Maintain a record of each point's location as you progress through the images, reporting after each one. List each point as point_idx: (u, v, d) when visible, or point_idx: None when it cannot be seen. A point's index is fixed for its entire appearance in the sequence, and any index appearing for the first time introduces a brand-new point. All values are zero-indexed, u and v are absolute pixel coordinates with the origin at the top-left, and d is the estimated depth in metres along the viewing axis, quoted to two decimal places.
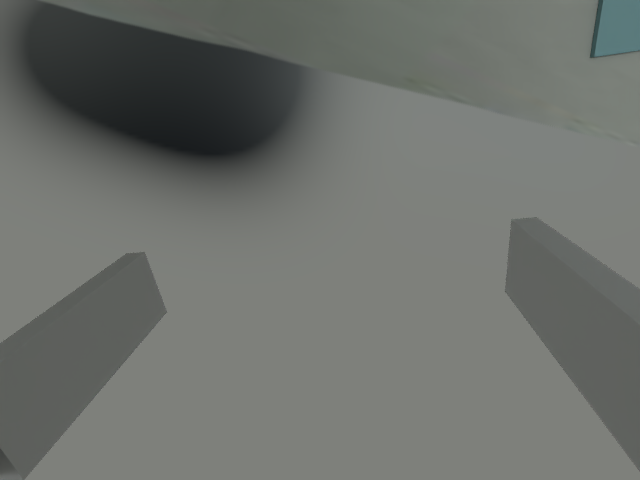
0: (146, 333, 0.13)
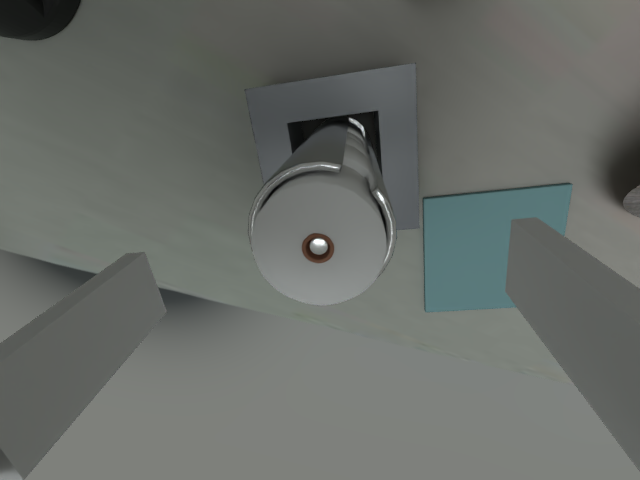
0: (146, 333, 0.13)
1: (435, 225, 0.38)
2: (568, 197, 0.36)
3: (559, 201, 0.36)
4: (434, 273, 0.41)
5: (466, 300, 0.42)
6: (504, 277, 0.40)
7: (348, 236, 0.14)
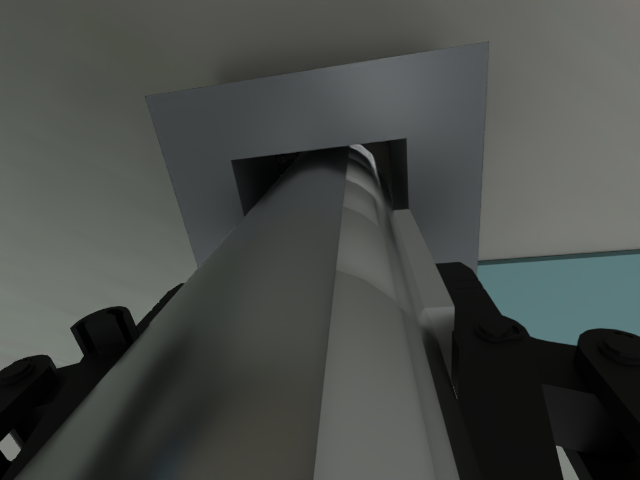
0: None
1: None
2: None
3: None
4: None
5: None
6: None
7: None
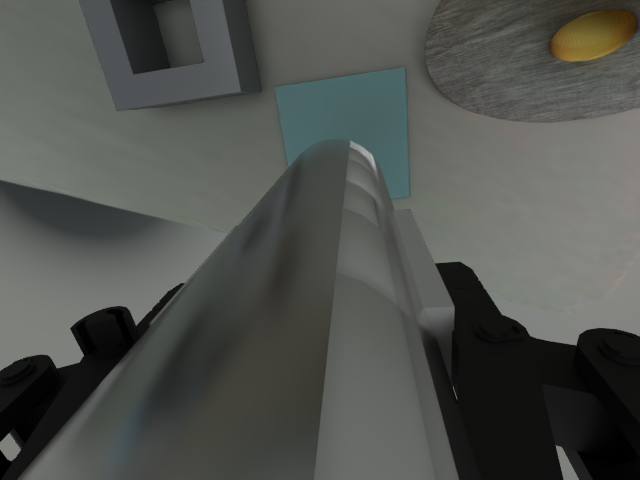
0: None
1: (288, 114, 0.41)
2: (404, 80, 0.38)
3: (396, 85, 0.38)
4: None
5: None
6: None
7: None
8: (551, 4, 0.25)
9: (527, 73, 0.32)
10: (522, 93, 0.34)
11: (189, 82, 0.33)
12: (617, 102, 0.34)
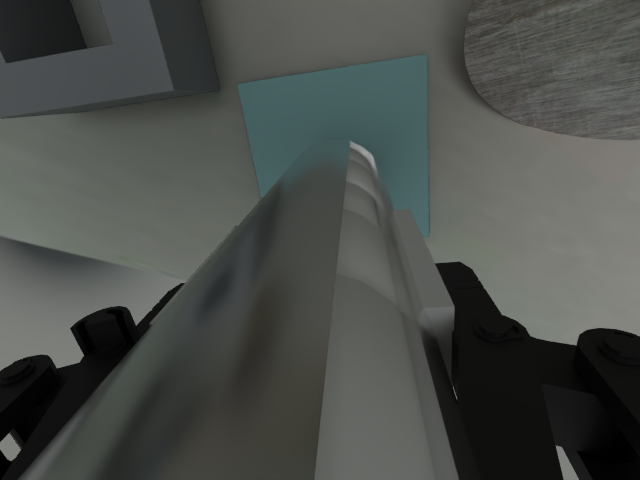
0: None
1: (259, 122, 0.29)
2: (424, 74, 0.26)
3: (413, 81, 0.26)
4: None
5: None
6: None
7: None
8: None
9: (626, 66, 0.20)
10: (607, 98, 0.23)
11: (93, 75, 0.21)
12: None
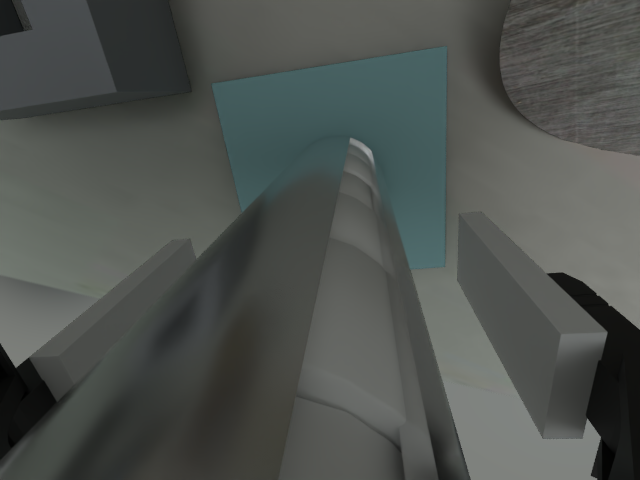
0: None
1: (238, 130, 0.23)
2: (443, 72, 0.21)
3: (429, 80, 0.21)
4: None
5: None
6: None
7: None
8: None
9: None
10: None
11: (10, 71, 0.16)
12: None
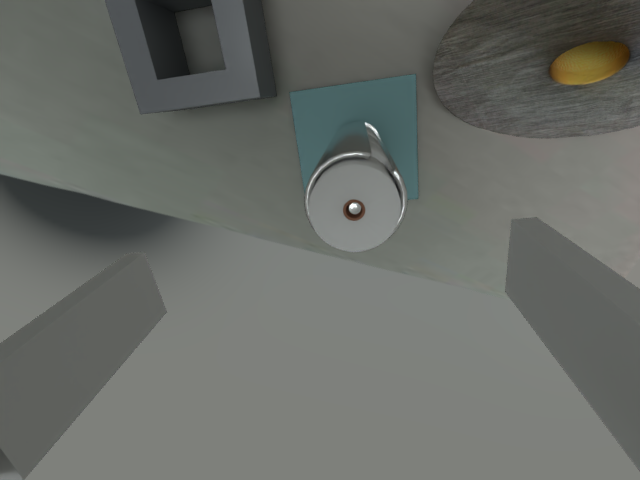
0: (146, 333, 0.13)
1: (302, 118, 0.42)
2: (414, 87, 0.40)
3: (407, 91, 0.40)
4: (309, 168, 0.45)
5: None
6: None
7: (374, 201, 0.20)
8: (552, 34, 0.27)
9: (527, 93, 0.34)
10: (523, 111, 0.37)
11: (211, 87, 0.35)
12: (612, 122, 0.36)
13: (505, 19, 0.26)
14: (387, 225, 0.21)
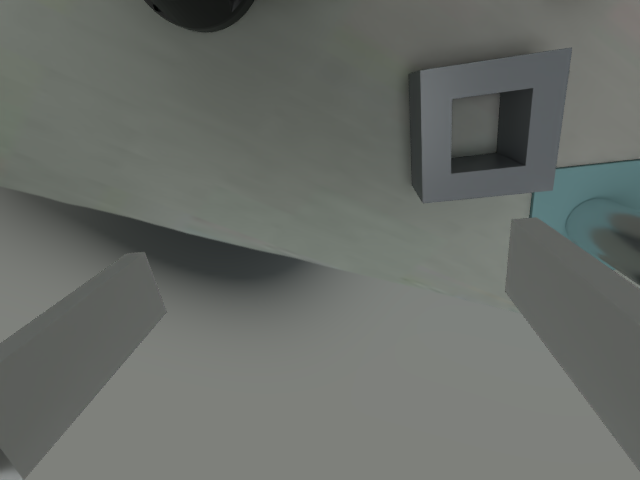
0: (146, 333, 0.13)
1: (544, 194, 0.44)
2: None
3: None
4: None
5: None
6: None
7: None
8: None
9: None
10: None
11: (504, 181, 0.36)
12: None
13: None
14: None
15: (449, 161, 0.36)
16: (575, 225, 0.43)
